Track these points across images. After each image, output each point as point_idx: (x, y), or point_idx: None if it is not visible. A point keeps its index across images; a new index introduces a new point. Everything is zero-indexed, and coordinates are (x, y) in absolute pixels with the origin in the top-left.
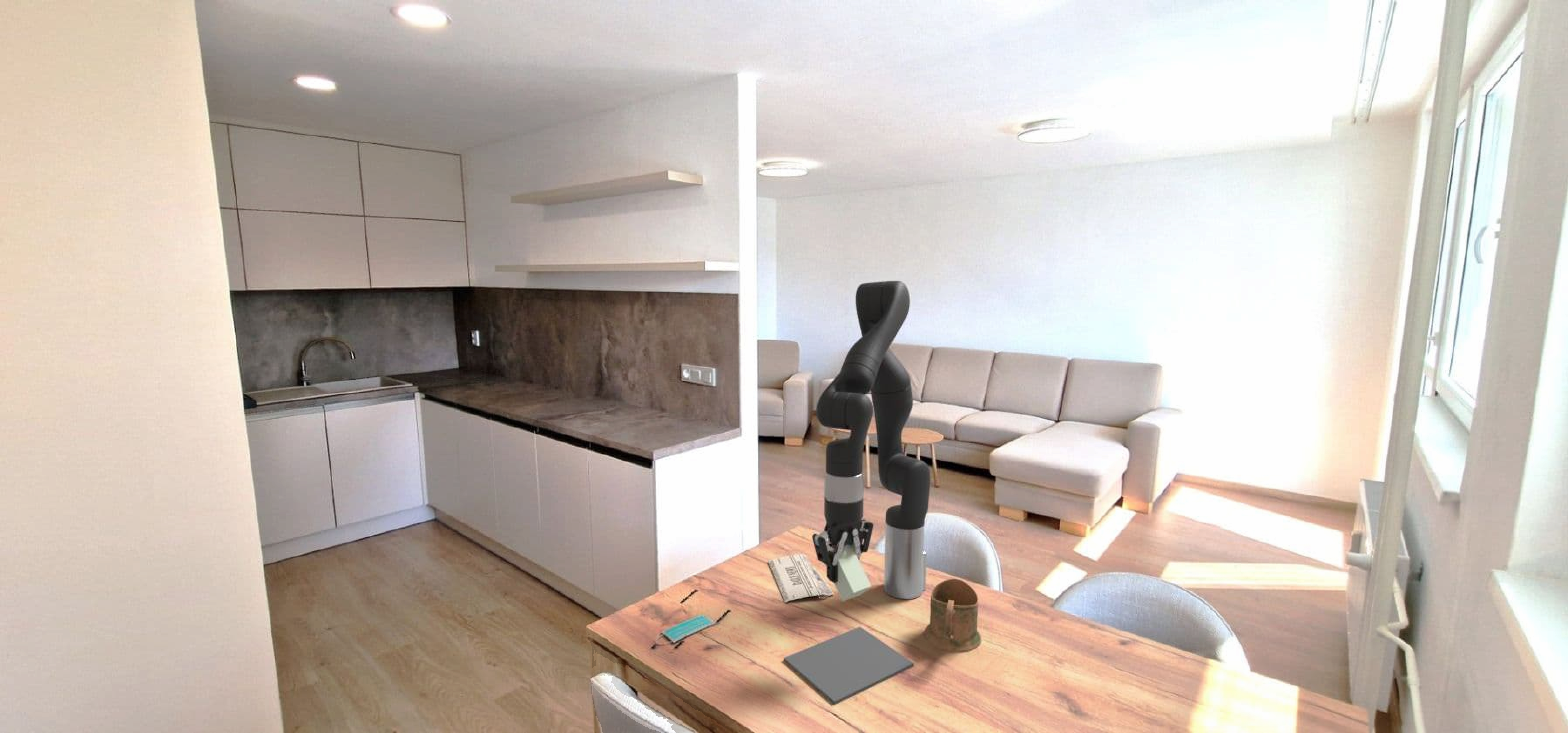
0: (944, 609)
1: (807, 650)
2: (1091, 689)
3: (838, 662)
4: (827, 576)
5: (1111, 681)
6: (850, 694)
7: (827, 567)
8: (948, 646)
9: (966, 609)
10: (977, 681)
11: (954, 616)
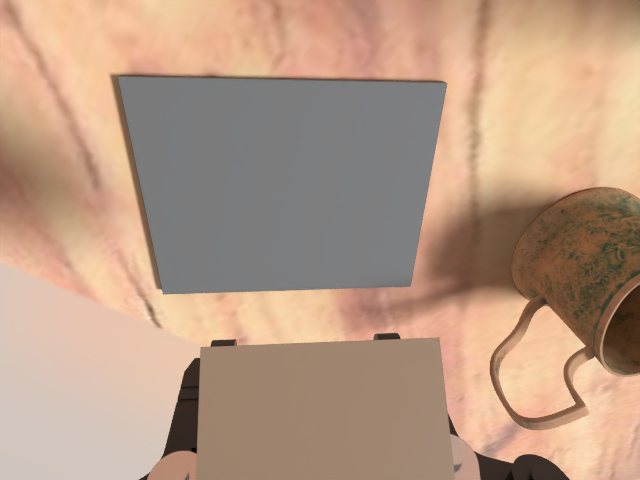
0: (586, 332)
1: (213, 89)
2: (556, 436)
3: (260, 192)
4: (186, 377)
5: (595, 438)
6: (211, 292)
7: (171, 437)
8: (521, 285)
9: (614, 367)
10: (456, 363)
11: (581, 340)
